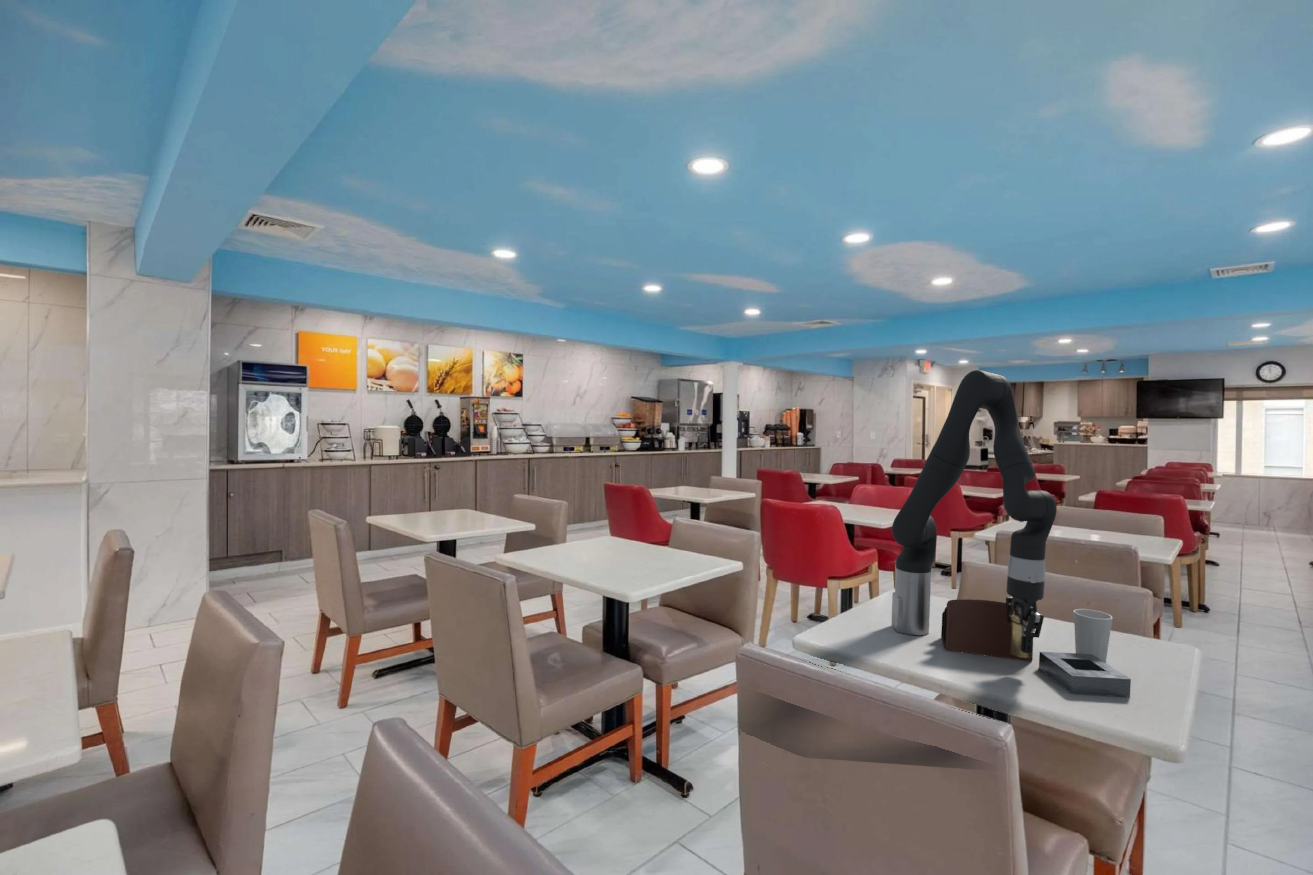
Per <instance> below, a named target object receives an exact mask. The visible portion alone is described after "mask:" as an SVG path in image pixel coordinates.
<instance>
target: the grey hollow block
mask: <svg viewBox="0 0 1313 875" xmlns="http://www.w3.org/2000/svg"><path fill="white" fill-rule="evenodd" d="M1038 661H1039V662H1038V669H1039V670H1041V671H1042V672H1043V673H1045V674H1046V675H1047V676H1048V677H1049V678H1051V679H1052V680H1053V681H1055V682H1056V683H1057V684H1058V685H1060V686H1061V687H1062V688H1063V689H1065V690H1066V691H1067V692H1068V693H1070V694H1071V695H1085V696H1087V695H1088V696H1103V697H1105V696H1106V697H1121V698H1131V686H1132V685H1131V682H1132V679H1131V678H1130V677H1128V676H1127V675H1126V674H1123V673H1122V672H1121V671H1119V670H1118V669H1116V668H1114V667H1113V666H1111V665H1109V664H1108V663H1107V662H1106V663H1105V662H1104V661H1102V660H1101V659H1099V658H1097V657H1096V656H1094V655H1093V654H1076V652H1073V653H1072V652H1055V651H1053V652H1052V651H1039V659H1038Z"/></svg>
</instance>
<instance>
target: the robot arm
mask: <svg viewBox="0 0 1313 875" xmlns="http://www.w3.org/2000/svg"><path fill="white" fill-rule="evenodd" d="M956 390H957V391H956V392H955V395H954V398H953V400H952V404H951V405H950V406H951V407H950V409H949V412H948V415H947V417H946V419H945V421H944V424H943V426H942V428H941V430H940V433H939V434H938V436H937V439H936V441H935V443H934V444H933V446H932V448H931V451H930V452H929V455H928V456H927V459H926V460H925V462H924V465H923V467H922V469H921V470H920V473H919V475H918V478H917V479H916V481H915V484H914V486H913V488H912V490H911V492H910V494H909V496H908V498H907V499H906V501H905V502H904V504H903V505H902V507H901V508H900V510H899V512H898V513H897V515H896V516H895V518H894V520H893V522H892V526H891V533H892V537H893V539H894V540H895V542H896V543H897V544H899V545H900V546H903V548H902V550H901V552H900V554H899V555H898V556H897V557H896V559H895V574H894V575H895V578H894V580H895V582H894V583H895V584H894V592H892V601H891V602H892V603H891V626H892V628H893V629H894V630H895V631H896V633H902V634H906V635H912V636H925V635H928V634H929V633H930V614H931V612H930V611H931V608H930V607H931V590H932V589H931V588H932V587H931V586H932V566H933V563H934V561H935V558H936V548H937V547H936V546H937V536H938V535H937V532H938V529H937V524H936V521H935V519H934V517H933V516H931V514H932V512H933V510H934V509H935V508H936V506H937V505H938V503H939V502H940V501H941V500H943V498H944V497H945V496H946V495H947V494H948V493H949V492H950V491H951V490H952V489H953V487H954V486H955V485H956V484H957V483H958V481H959V480H960V478H961V476H962V474H963V472H964V470H965V468H966V467H967V464H968V462H969V459H970V455H971V444H970V432H971V426H972V423H974V422H973V421H974V419H975V417H976V416H977V414H978V411H980V410H981V409H982V410H986V411H987V412H988V415H989V416H990V419H991V420H992V422H993V425H994V440H993V455H994V456H993V457H994V461H995V463H996V466H997V468H998V470H999V474H1000V476H1001V480H1002V498H1003V506H1004V510H1005V512H1006V513H1007V515H1008V516H1009V517H1010V518H1011V519H1012V520H1015V521H1017V522H1026V524H1025V525H1024V527H1023V528H1021V529H1020V528H1019V529H1017V530H1015V531H1013V532H1012V534H1011V536H1010V545H1009V546H1010V549H1009V558H1008V563H1007V575H1006V577H1007V578H1006V593H1007V595H1008V596H1006V597H1005V603H1006V611H1007V621H1008V622H1010V626H1011V628H1012V621H1011V615H1012V614H1016V615H1017V616H1018V619H1019V625H1020V626H1021V631H1022V636H1021V651H1022V652H1023V653H1032V646H1033V647H1034V638H1037V639H1038V638H1040V635H1041V631H1042V626H1043V622H1044V619H1045V618H1044V614H1043V613H1042V614H1041V613H1039V612H1038V606H1037V602H1038V601H1041V600H1043V599H1044V597H1045V582H1046V560H1045V559H1046V549H1047V548H1046V546H1047V544H1046V543H1047V540H1048V538H1049V536H1050V533H1051V530H1052V528H1053V524H1054V522H1055V520H1056V515H1057V511H1058V510H1057V508H1058V507H1057V502H1056V500H1055V498H1054V496H1053V495H1052V494H1051V493H1050V492H1048V491H1046V490H1027V489H1026V485H1025V484H1028V483H1030V482H1031V481H1033V480H1034V479H1035V478H1036V470H1035V468H1034V465H1033V462H1032V460H1031V457H1030V455H1029V452H1028V449H1027V447H1026V445H1025V441H1024V439H1023V435H1022V431H1021V427H1020V424H1019V418H1018V414H1017V409H1016V404H1015V398H1014V393H1013V389H1012V387H1011V383H1010V381H1009V380H1008V379H1007V378H1006V377H1005V376H1002V375H1001V374H997V373H992V372H990V371H989V372H988V371H985V370H980V369H976V370H972V371H970V372H968V373H967V374H966V375H965V376H964V377H963V378H962V380H961V381H960V383H959V385H958V386H957V389H956ZM1023 620H1027V621H1028V623H1025V622H1024V621H1023ZM1026 626H1027V629H1026Z"/></svg>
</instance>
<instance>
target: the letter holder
mask: <svg viewBox="0 0 1313 875" xmlns="http://www.w3.org/2000/svg"><path fill="white" fill-rule="evenodd" d="M1011 629H1012V628H1011V626H1010V622H1008V621H1007V611H1006V602H1002V601H995V600H987V599H969V598H968V599H966V598H965V599H950V600H948V601H947V602H946V607H945V608H944V611H943V612H942V614H941V634H940V638H941V640H942V641H941V642H942V644H943V648H944V650H945V651H947V652H953V651H954V652H955V653H961V652H963V654H969V655H978V656H984V655H985V656H986V657H991V656H992V657H993V658H1000V659H1009V660H1013V661H1014V660H1015V661H1016V660H1017V661H1021V662H1022V661H1024V662H1031V663H1032V662H1033V657H1034V655H1033V653H1034V652H1033V650H1034V645H1033V646H1032V657H1031V658H1021V657H1017V656H1014V655H1012V654H1011V653H1010V645H1011ZM954 652H953V653H954ZM992 657H991V658H992Z"/></svg>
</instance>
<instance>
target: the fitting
mask: <svg viewBox="0 0 1313 875" xmlns="http://www.w3.org/2000/svg"><path fill="white" fill-rule="evenodd" d="M1011 621H1012V629H1011V645H1010V653H1011V654H1012V655H1014V656H1017V657H1021V658H1031V657H1032V653H1023V652H1022V651H1021V636H1022V631H1021V626H1020V625H1019V619H1018V616H1017V615H1016V614H1012V615H1011ZM1023 621H1024V622H1025V623H1028V621H1027V620H1023ZM1026 629H1027V626H1026Z"/></svg>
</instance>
